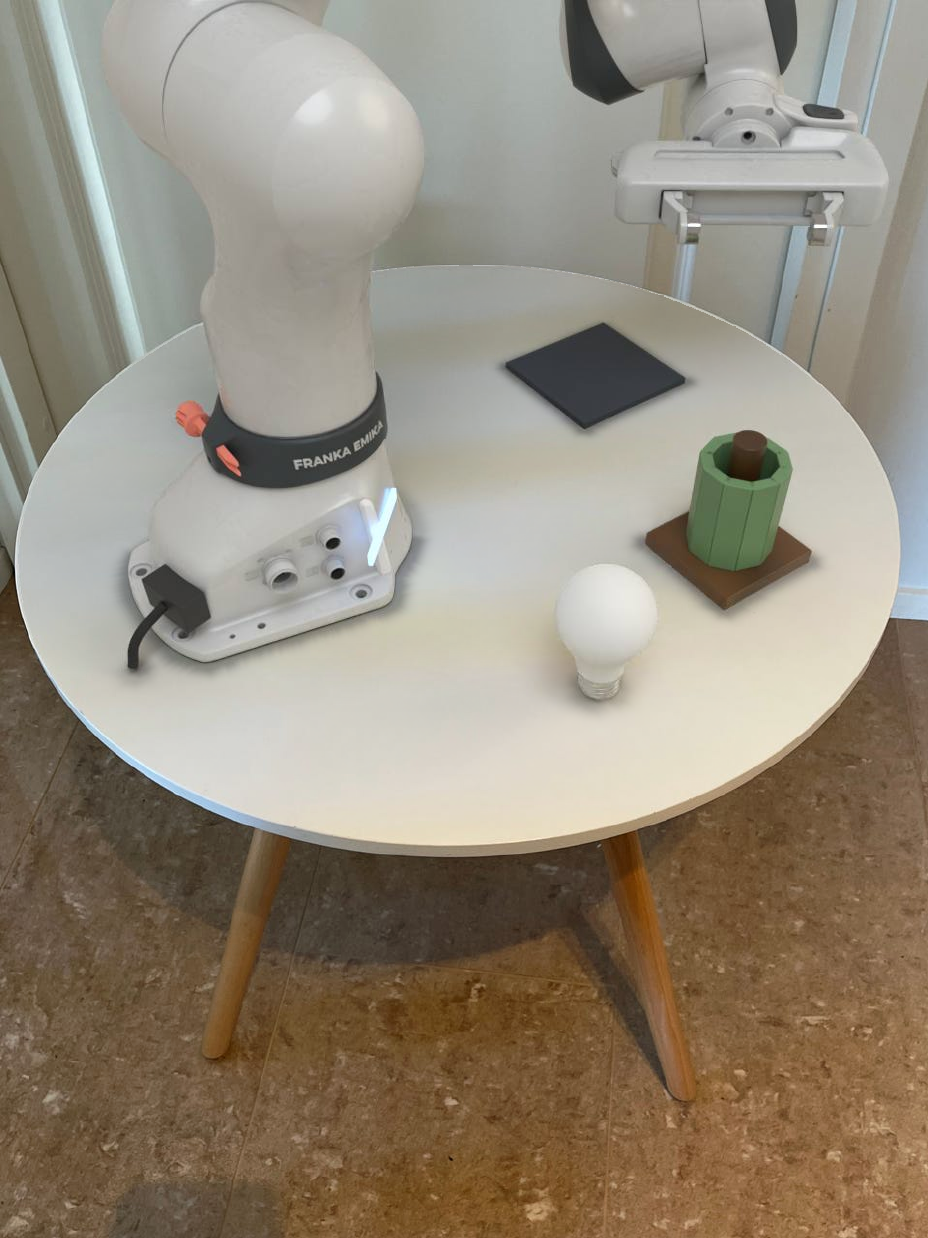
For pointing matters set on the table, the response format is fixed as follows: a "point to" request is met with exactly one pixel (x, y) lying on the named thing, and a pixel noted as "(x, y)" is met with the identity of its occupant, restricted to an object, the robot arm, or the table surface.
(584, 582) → the light bulb
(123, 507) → the table surface
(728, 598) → the peg stand
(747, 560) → the green tube
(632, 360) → the mat
